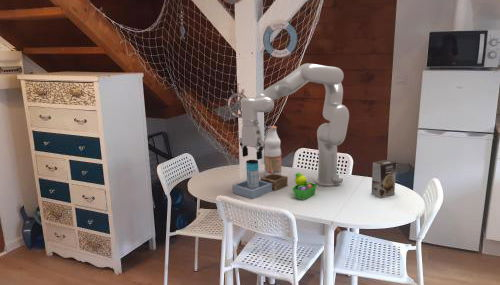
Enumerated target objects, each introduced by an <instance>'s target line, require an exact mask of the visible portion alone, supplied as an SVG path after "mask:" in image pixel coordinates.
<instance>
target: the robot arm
mask: <svg viewBox="0 0 500 285" xmlns="http://www.w3.org/2000/svg"><path fill="white" fill-rule="evenodd" d="M344 76H345V75H344V72H343V70H342V69H341V68H339V67H338V66H337V67H336V66H330V65H329V66H328V65H323V64H317V63H308V62H307V63H303V64H302V65H300V66H298V67H297V68H296V69H295V70H293V71H292V72H290V73H289V74H287V75H286V76H285V77H283V78H282V79H280V80H278V81H277V82H275V83H274V84H272V85H270V86H269V87H266V88H265V89H264V90H263V91H261V92H260V93H258V94H257V95H256V96H255V97H250V96H249V97H244V98H242V99H241V101H240V106H241V121H242V126H241V137H240V138H238V140H237V141H238V143H239V145H240V148H241V149H242V157H243V158H245V157H247V156H249V150H248V147H250V148H255V150H256V160H258V161H259V160H261V159H263V150H265V142H264V141H263V138H262V131H261V127H260V126H259V124H260V123H259V120H258V119H259V116H258V113H270V112H271V111H273V109H274V108H275V101H276V100H278V99H281V98H282V97H286V96H290V95H292V94H294V93H296V92H297V91H298V90H300V89H301V88H303V86H305V85H306V84H308V83H309V82H312V83H316V84H323V86H324V88H325V97H324V103H323V109H322V116H323V118H324V119H325V120H326V121H328V122H324V123H322V124H321V125H319V126H318V128H317V131H316V136H317V147H318V156H317V157H318V161H317V162H318V167H317V168H318V171H317V172H318V175H317V178H316V179H315V184H317V186H321V187H335V186H338V185H340V184H342V183H343V182H344V179H343V178H341V177H339V176H340V175H339V174H338V146H340V145H341V144H343V143H344V141H345V139H346V137H347V136H346V135H347V131H348V125H349V120H350V112H349V109H348V108H347V106H346V105H344V104H342V103H343V96H344V88H343V85H342V82H343V80H344Z"/></svg>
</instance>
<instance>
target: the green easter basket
mask: <svg viewBox="0 0 500 285" xmlns="http://www.w3.org/2000/svg"><path fill="white" fill-rule="evenodd" d="M294 180H295V186H293V187H292V188H291V189H292V190H293V193H294V194H293V195H294V197H295V198H296V199H300V200H303V201H304V200H306V199H308V198H310V197H312V196H315V192H316V190H317V187H318V184H316V183H314V182H310V181H308V179H307V176H305V175H304V174H303V173H301V172H297V173H296V174H295V179H294Z"/></svg>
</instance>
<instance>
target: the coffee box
mask: <svg viewBox="0 0 500 285" xmlns="http://www.w3.org/2000/svg"><path fill="white" fill-rule="evenodd" d="M396 170H397V162H396V161H393V160H389V159H383V160H378V161H374V162H372V170H371V171H372V175H371V195H373V196H375V197H378V198H380V199H383V198H386V197H390V196H395V190H396V174H397V173H396V172H397V171H396Z"/></svg>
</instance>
